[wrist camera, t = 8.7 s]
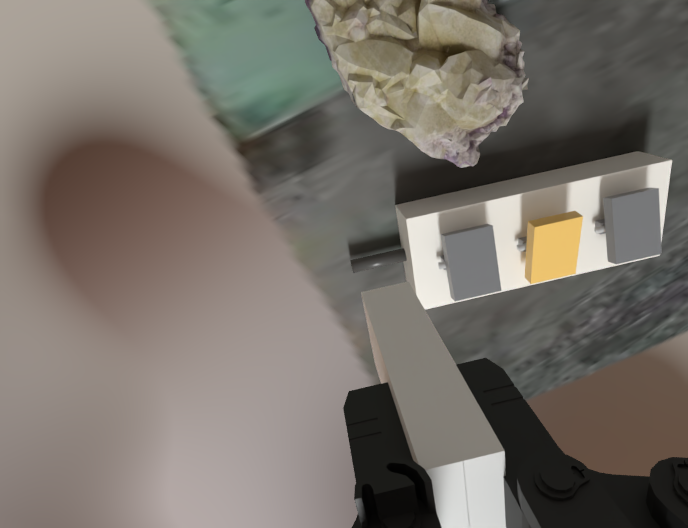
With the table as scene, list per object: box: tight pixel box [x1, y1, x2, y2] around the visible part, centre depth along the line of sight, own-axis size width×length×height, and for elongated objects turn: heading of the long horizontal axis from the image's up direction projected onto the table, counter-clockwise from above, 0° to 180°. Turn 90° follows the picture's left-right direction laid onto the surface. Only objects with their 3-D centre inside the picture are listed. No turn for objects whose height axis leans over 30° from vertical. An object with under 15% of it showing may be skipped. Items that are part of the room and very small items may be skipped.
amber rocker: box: [525, 211, 583, 284], centre depth 37 cm, size 6×4×1 cm
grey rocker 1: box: [441, 224, 501, 301], centre depth 37 cm, size 6×4×1 cm
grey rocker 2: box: [603, 187, 662, 264], centre depth 38 cm, size 6×4×1 cm
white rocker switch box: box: [351, 151, 672, 309], centre depth 40 cm, size 9×28×5 cm, turn 101°
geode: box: [305, 0, 529, 168], centre depth 32 cm, size 17×9×15 cm
